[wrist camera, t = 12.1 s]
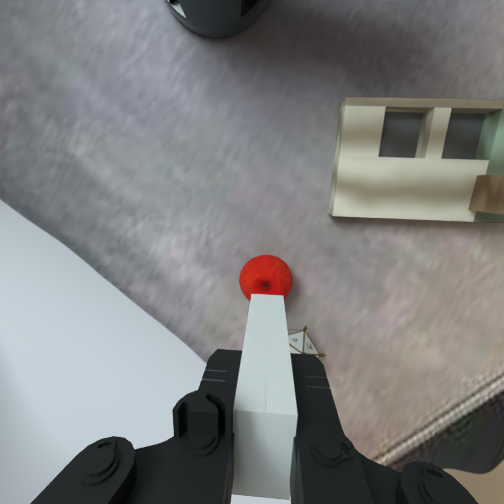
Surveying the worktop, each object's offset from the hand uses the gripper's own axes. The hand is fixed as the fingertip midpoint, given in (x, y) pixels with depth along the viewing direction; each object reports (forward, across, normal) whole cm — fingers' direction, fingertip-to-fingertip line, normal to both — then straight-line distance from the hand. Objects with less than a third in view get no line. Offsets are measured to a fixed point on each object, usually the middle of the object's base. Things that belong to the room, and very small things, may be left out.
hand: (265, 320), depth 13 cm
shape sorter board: (+29, +22, +10) cm, 38 cm away
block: (+26, +29, +6) cm, 40 cm away
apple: (+30, 0, -8) cm, 31 cm away
